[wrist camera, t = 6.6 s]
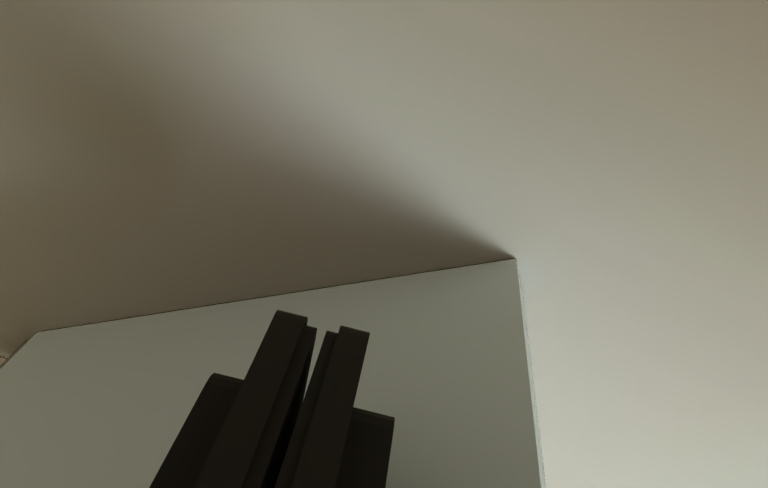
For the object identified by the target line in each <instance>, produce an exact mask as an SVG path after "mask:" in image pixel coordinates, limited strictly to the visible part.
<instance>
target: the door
mask: <svg viewBox="0 0 768 488" xmlns="http://www.w3.org/2000/svg"><path fill="white" fill-rule="evenodd" d="M277 310H281V311H285V312H289V313H293V314H297V315H301V316H305V317H308V322H307V326H311V327H315V328H317V334H316V339H315V344H314V349H313V354H312V359H311V364H310V369H309V374H308V379H307V384H306V389H305V394H306V391H307V388H308V385H309V382H310V379H311V376H312V373H313V370H314V367H315V364H316V361H317V358H318V355H319V352H320V349H321V346H322V343H323V340H324V337H325V334H326V331H331V332H335V333H338V332H339V329H340V326H341V325H342V326H346V327H350V328H354V329H358V330H362V331H366V332H370V336H369V340H368V345H367V349H366V353H365V358H364V362H363V366H362V371H361V375H360V380H359V384H358V388H357V393H356V397H355V401H354V406H353V407H355V408H359V409H363V410H367V411H371V412H375V413H379V414H383V415H387V416H391V417H395V424H394V432H393V438H392V445H391V452H390V459H389V466H388V473H387V480H386V487H385V488H546V483H545V475H544V466H543V458H542V449H541V441H540V432H539V424H538V415H537V407H536V398H535V390H534V381H533V373H532V364H531V356H530V347H529V339H528V330H527V322H526V313H525V305H524V299H523V293H522V288H521V282H520V277H519V272H518V266H517V261H516V259H510V260H504V261H497V262H491V263H484V264H478V265H471V266H465V267H458V268H452V269H445V270H439V271H432V272H426V273H419V274H413V275H406V276H400V277H393V278H387V279H380V280H374V281H367V282H361V283H354V284H348V285H341V286H335V287H328V288H322V289H316V290H309V291H303V292H296V293H290V294H283V295H277V296H270V297H264V298H257V299H251V300H244V301H238V302H231V303H225V304H218V305H212V306H205V307H199V308H192V309H186V310H179V311H173V312H166V313H160V314H153V315H147V316H140V317H134V318H127V319H121V320H114V321H108V322H101V323H95V324H88V325H82V326H75V327H69V328H62V329H56V330H49V331H43V332H37V333H36V334H35V335H34V336H33V337H32V338H31V339H30V340H27V341H25V342H24V343H23V344H22V345H20V346H19V347H18V348H17V349H16V350H15V351H14V352H13V353H12V354H11V355H10V356H9V357H8V358H7V359H6V360H5V361H4V362H3V363H2V364H1V365H0V488H149V487H150V485H151V483H152V482H153V480H154V478H155V476H156V474H157V472H158V470H159V469H160V467H161V465H162V463H163V461H164V459H165V458H166V456H167V454H168V452H169V450H170V448H171V446H172V445H173V443H174V441H175V439H176V437H177V435H178V434H179V432H180V430H181V428H182V426H183V424H184V422H185V421H186V419H187V417H188V415H189V413H190V411H191V410H192V408H193V406H194V404H195V402H196V400H197V398H198V397H199V395H200V393H201V391H202V389H203V387H204V386H205V384H206V382H207V380H208V379H209V377H210V376H211V375H212V374H213V373H218V374H222V375H226V376H230V377H234V378H238V379H242V380H244V379H245V377H246V374H247V372H248V370H249V368H250V366H251V364H252V362H253V359H254V357H255V355H256V353H257V351H258V349H259V347H260V344H261V342H262V340H263V338H264V336H265V334H266V332H267V329H268V327H269V325H270V323H271V321H272V319H273V317H274V314H275V313H276V311H277ZM305 394H304V397H305ZM303 400H304V399H303Z"/></svg>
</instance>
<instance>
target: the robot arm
mask: <svg viewBox="0 0 768 488" xmlns="http://www.w3.org/2000/svg"><path fill="white" fill-rule="evenodd" d="M307 322H308V317H305V316H301V315H297V314H293V313H289V312H285V311H281V310H277V311H276V313H275V314H274V317H273V319H272V321H271V323H270V325H269V327H268V329H267V332H266V334H265V336H264V338H263V340H262V342H261V344H260V347H259V349H258V351H257V353H256V355H255V357H254V359H253V362H252V364H251V366H250V368H249V370H248V372H247V374H246V377H245V379H244V380H242V379H238V378H234V377H230V376H226V375H222V374H218V373H213V374H212V375H211V376H210V377H209V379H208V380H207V382H206V384H205V386H204V387H203V389H202V391H201V393H200V395H199V397H198V398H197V400H196V402H195V404H194V406H193V408H192V410H191V411H190V413H189V415H188V417H187V419H186V421H185V422H184V424H183V426H182V428H181V430H180V432H179V434H178V435H177V437H176V439H175V441H174V443H173V445H172V446H171V448H170V450H169V452H168V454H167V456H166V458H165V459H164V461H163V463H162V465H161V467H160V469H159V470H158V472H157V474H156V476H155V478H154V480H153V482H152V483H151V485H150V487H149V488H385V487H386V480H387V473H388V466H389V459H390V452H391V445H392V438H393V432H394V424H395V417H391V416H387V415H383V414H379V413H375V412H371V411H367V410H363V409H359V408H355V407H353V406H354V401H355V397H356V393H357V388H358V384H359V380H360V375H361V371H362V366H363V362H364V358H365V353H366V349H367V345H368V340H369V336H370V332H366V331H362V330H358V329H354V328H350V327H346V326H342V325H341V326H340V329H339V332H338V333H335V332H331V331H326V334H325V337H324V340H323V343H322V346H321V349H320V352H319V355H318V358H317V361H316V364H315V367H314V370H313V373H312V376H311V379H310V382H309V385H308V388H307V391H306V394H305V389H306V384H307V379H308V374H309V369H310V364H311V359H312V354H313V349H314V344H315V339H316V334H317V328H315V327H311V326H307ZM304 394H305V397H304ZM303 399H304V400H303Z"/></svg>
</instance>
